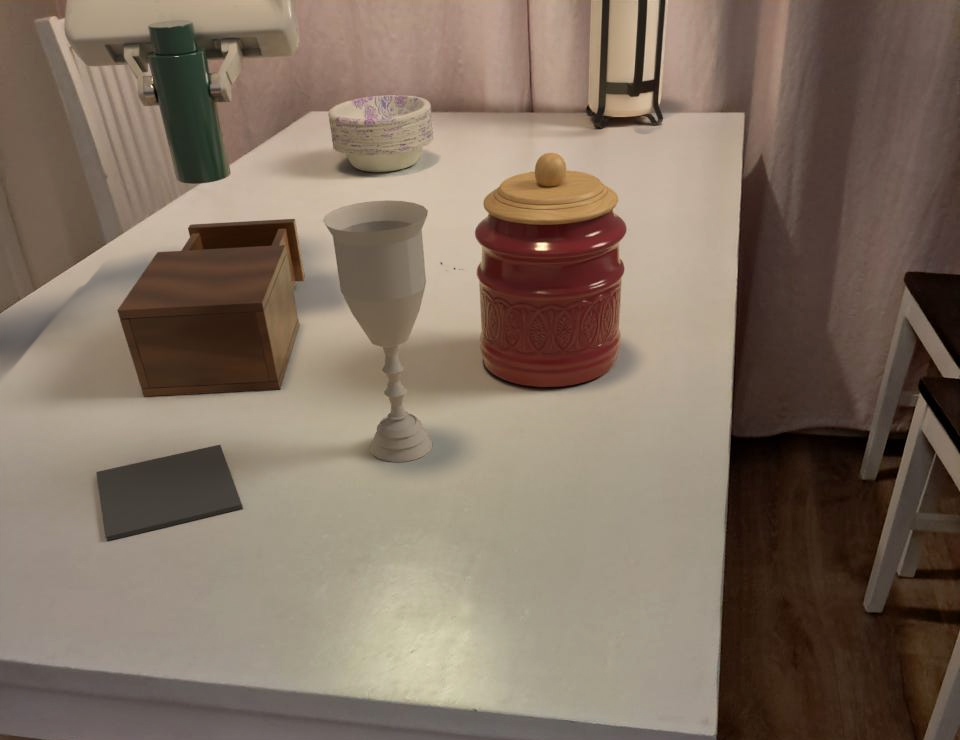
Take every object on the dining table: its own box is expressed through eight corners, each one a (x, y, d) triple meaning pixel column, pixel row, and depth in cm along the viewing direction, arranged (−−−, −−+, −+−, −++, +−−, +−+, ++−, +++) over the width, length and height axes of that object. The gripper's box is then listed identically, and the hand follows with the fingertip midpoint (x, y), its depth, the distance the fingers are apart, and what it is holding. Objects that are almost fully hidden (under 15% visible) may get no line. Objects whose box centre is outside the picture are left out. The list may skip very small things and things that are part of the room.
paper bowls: (337, 183, 134) (329, 121, 129) (333, 156, 145) (325, 98, 140) (441, 173, 135) (437, 112, 130) (429, 147, 147) (425, 90, 141)
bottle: (165, 178, 86) (128, 26, 78) (209, 166, 89) (177, 17, 81) (198, 187, 84) (162, 30, 76) (241, 173, 86) (212, 21, 78)
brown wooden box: (178, 331, 96) (157, 251, 90) (299, 325, 96) (285, 244, 90) (143, 396, 85) (116, 310, 79) (280, 389, 85) (262, 302, 79)
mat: (97, 475, 74) (96, 471, 74) (221, 448, 77) (220, 444, 77) (107, 541, 67) (105, 536, 67) (243, 508, 70) (241, 504, 69)
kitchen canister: (626, 334, 90) (638, 133, 78) (610, 395, 81) (621, 177, 69) (496, 328, 93) (490, 132, 81) (466, 386, 83) (453, 175, 72)
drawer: (210, 270, 106) (197, 213, 102) (309, 265, 106) (299, 207, 102) (177, 332, 93) (160, 269, 89) (289, 326, 93) (277, 262, 89)
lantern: (556, 123, 155) (558, -107, 135) (618, 104, 162) (629, -115, 143) (635, 139, 145) (650, -106, 125) (698, 118, 153) (722, -115, 133)
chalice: (439, 421, 79) (421, 196, 67) (451, 461, 74) (434, 225, 62) (354, 431, 78) (320, 206, 66) (360, 472, 73) (325, 236, 61)
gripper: (49, -72, 79) (52, 82, 79) (285, -84, 79) (291, 70, 78) (81, -15, 86) (84, 128, 85) (300, -27, 86) (305, 116, 85)
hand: (185, 100), depth 82 cm, fingers closed on bottle, 5 cm apart
